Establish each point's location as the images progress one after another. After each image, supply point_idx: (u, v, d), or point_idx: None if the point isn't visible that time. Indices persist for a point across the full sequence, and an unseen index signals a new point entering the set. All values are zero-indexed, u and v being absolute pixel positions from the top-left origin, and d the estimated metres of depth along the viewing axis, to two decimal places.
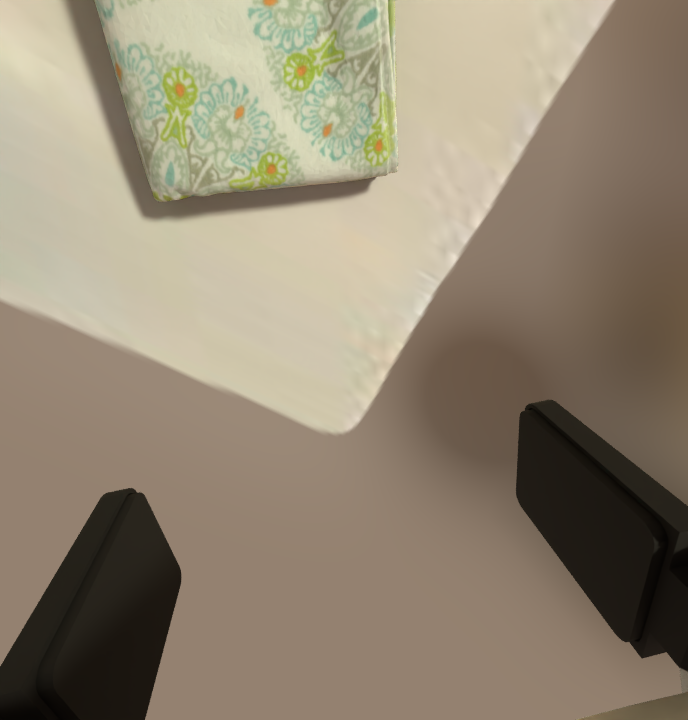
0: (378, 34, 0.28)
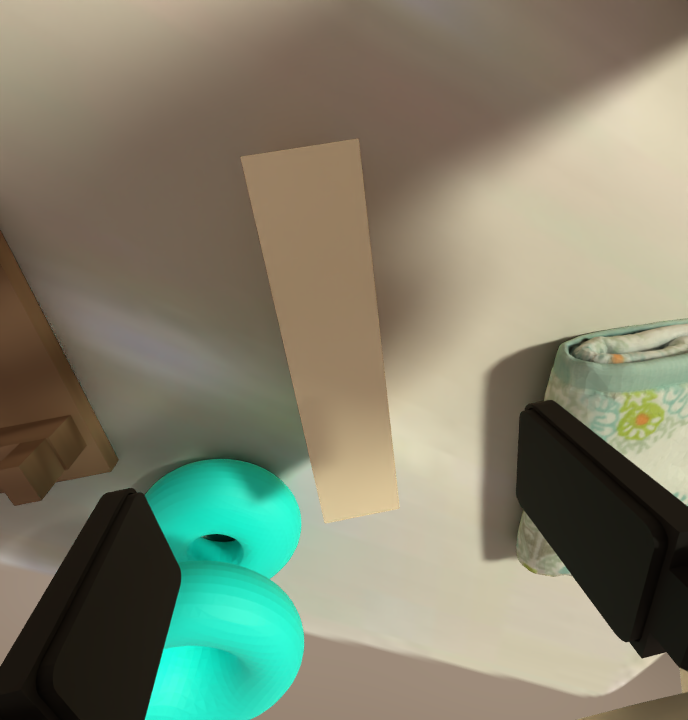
0: None
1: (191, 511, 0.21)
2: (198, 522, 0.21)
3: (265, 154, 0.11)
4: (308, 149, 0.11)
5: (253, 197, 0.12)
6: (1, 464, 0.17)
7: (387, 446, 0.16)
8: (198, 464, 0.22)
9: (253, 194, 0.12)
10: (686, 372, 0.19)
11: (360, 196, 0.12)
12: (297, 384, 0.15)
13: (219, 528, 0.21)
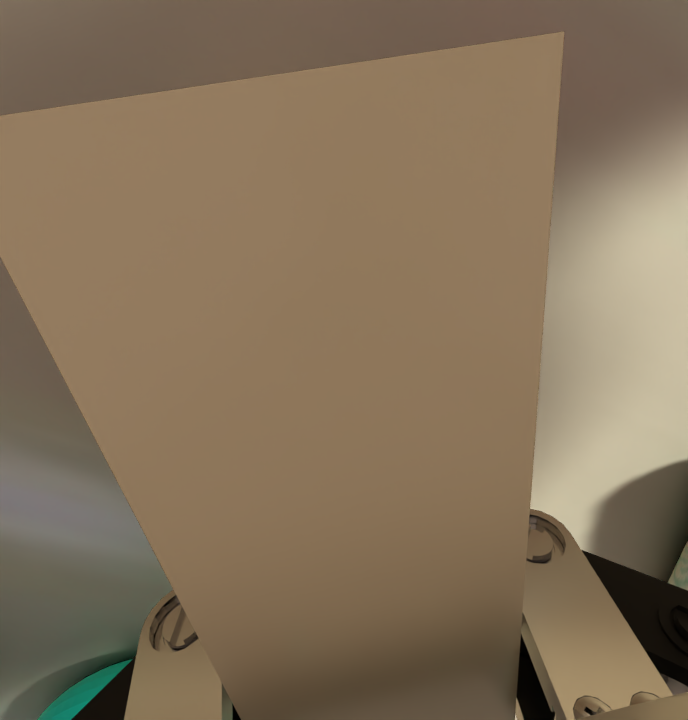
0: None
1: None
2: None
3: (80, 115, 0.02)
4: (309, 89, 0.02)
5: (53, 322, 0.03)
6: None
7: None
8: None
9: (53, 308, 0.03)
10: None
11: (526, 298, 0.03)
12: None
13: None
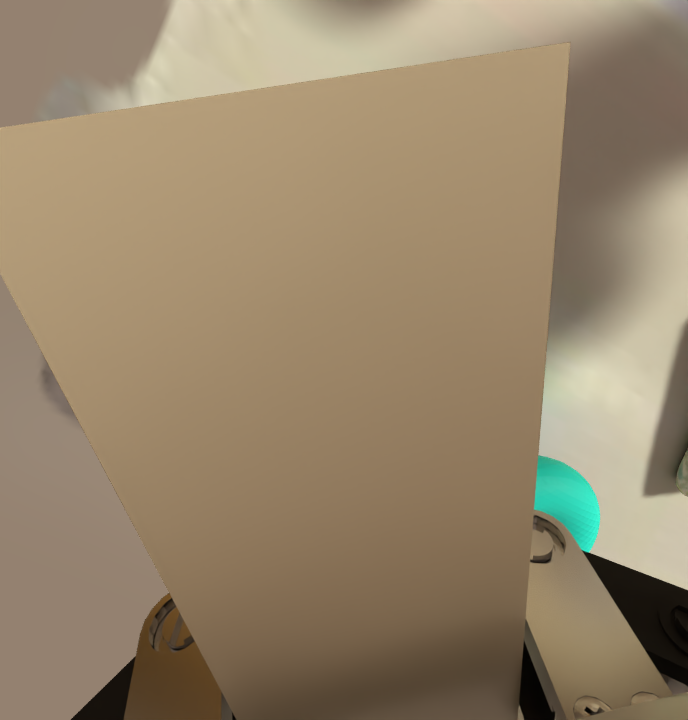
0: None
1: None
2: None
3: (79, 127, 0.02)
4: (312, 100, 0.02)
5: (52, 335, 0.02)
6: None
7: None
8: None
9: (52, 321, 0.02)
10: None
11: (530, 308, 0.03)
12: None
13: None
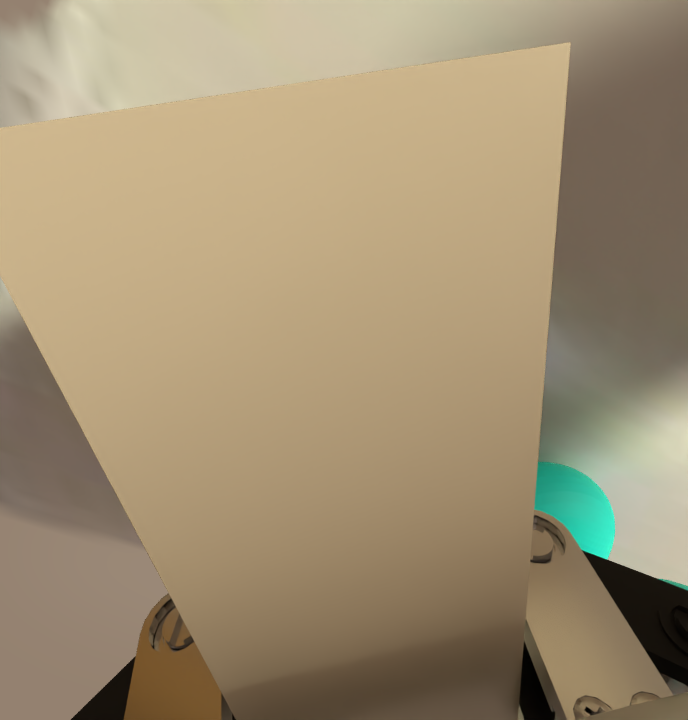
0: None
1: None
2: None
3: (79, 127, 0.02)
4: (312, 100, 0.02)
5: (51, 336, 0.02)
6: None
7: None
8: None
9: (51, 322, 0.02)
10: None
11: (531, 309, 0.03)
12: None
13: None
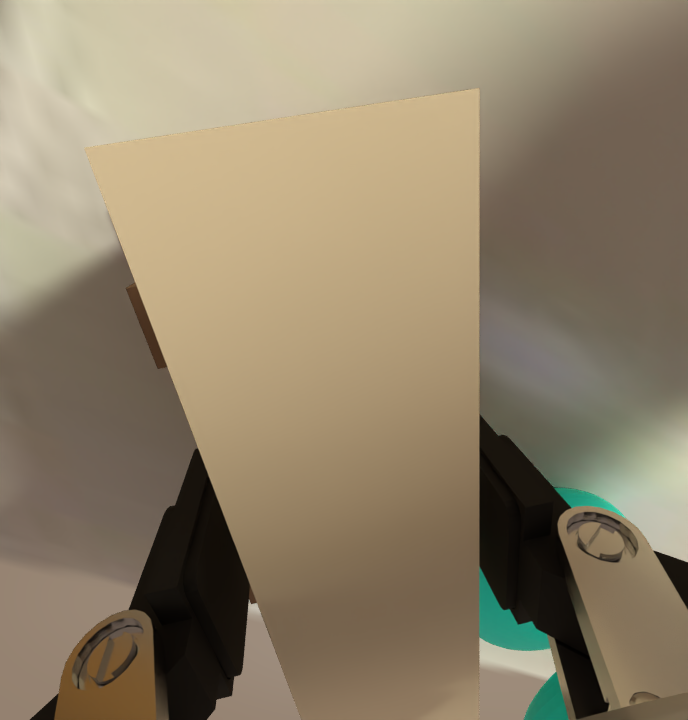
0: None
1: None
2: None
3: (173, 140, 0.03)
4: (316, 124, 0.03)
5: (145, 276, 0.04)
6: None
7: None
8: None
9: (145, 266, 0.04)
10: None
11: (466, 264, 0.04)
12: (289, 660, 0.07)
13: None
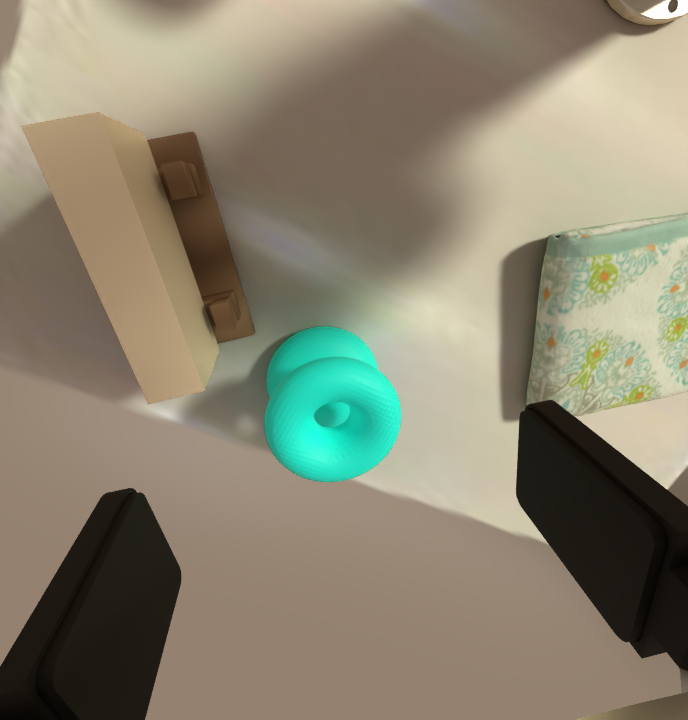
0: None
1: (313, 353, 0.32)
2: None
3: (38, 124, 0.18)
4: (66, 120, 0.18)
5: (36, 152, 0.18)
6: (212, 304, 0.27)
7: (180, 337, 0.23)
8: (312, 328, 0.33)
9: (35, 150, 0.18)
10: (629, 241, 0.31)
11: (110, 150, 0.19)
12: (98, 288, 0.21)
13: None
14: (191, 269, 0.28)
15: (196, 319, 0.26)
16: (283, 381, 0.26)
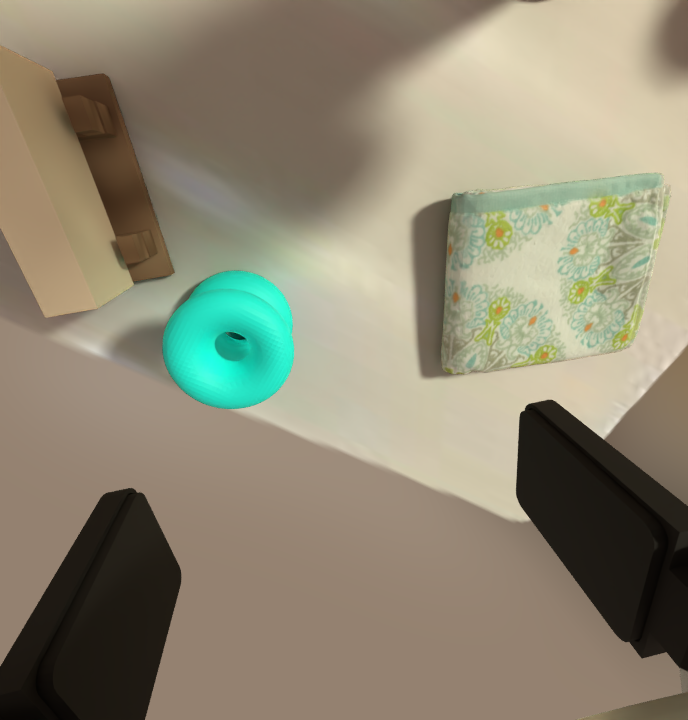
0: (645, 271, 0.38)
1: None
2: None
3: None
4: None
5: None
6: (120, 236, 0.30)
7: (71, 255, 0.25)
8: (226, 271, 0.35)
9: None
10: (521, 199, 0.33)
11: None
12: None
13: None
14: (102, 204, 0.30)
15: (99, 247, 0.28)
16: (178, 308, 0.29)
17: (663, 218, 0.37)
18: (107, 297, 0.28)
